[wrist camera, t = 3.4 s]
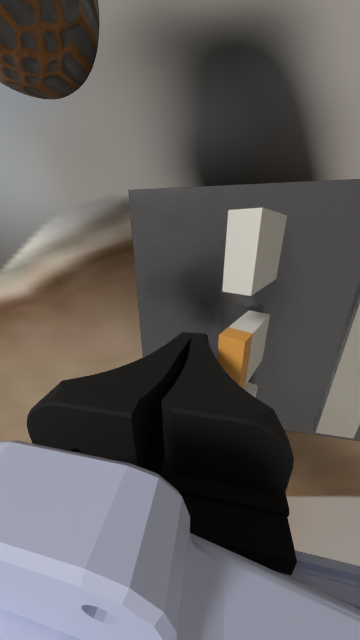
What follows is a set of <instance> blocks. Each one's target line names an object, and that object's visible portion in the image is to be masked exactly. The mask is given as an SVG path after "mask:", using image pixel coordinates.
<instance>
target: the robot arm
mask: <svg viewBox="0 0 360 640" xmlns="http://www.w3.org/2000/svg"><path fill="white" fill-rule="evenodd" d="M27 428H28V432H29V435H30V438H31V440H32V443H33V444H32V443H27V442H22V441H0V640H360V566H356V565H352V564H348V563H344V562H340V561H335V560H332V559H328V558H324V557H320V556H316V555H311V554H307V553H303V552H299V551H295V550H294V545H293V541H292V536H291V532H290V528H289V523H288V519H287V517H288V516H289V507H288V502H287V498H286V494H285V492H286V489H287V486H288V482H289V479H290V476H291V473H292V469H293V460H294V457H293V454H292V450H291V447H290V443H289V441H288V438H287V436H286V433H285V431H284V429H283V427H282V425H281V423H280V421H279V419H278V417H277V415H276V413H275V411H274V409H273V408H271V407H269V406H268V405H266V404H265V403H263V402H262V401H260V400H258V399H257V398H255V397H254V396H252V395H251V394H250V393H248V392H247V391H246V390H244V389H243V388H242V387H241V386H239V385H238V384H237V383H236V382H235V381H234V380H233V379H232V378H231V377H230V376H229V375H228V374H227V373H226V371H225V370H224V369H223V368H222V366H221V365H220V363H219V362H218V360H217V359H216V357H215V355H214V353H213V351H212V349H211V347H210V345H209V342H208V336H207V335H206V334H203V333H190V332H182V333H181V334H179V335H178V336H177V337H175V338H174V339H173V340H171V341H170V342H168V343H167V344H166V345H164V346H162V347H161V348H159V349H158V350H156V351H154V352H153V353H151V354H149V355H147V356H145V357H143V358H141V359H139V360H137V361H135V362H132V363H130V364H127V365H124V366H122V367H119V368H116V369H113V370H109V371H106V372H102V373H99V374H95V375H90V376H85V377H80V378H75V379H70V380H63V381H61V382H60V383H59V384H58V385H57V386H56V387H55V388H54V389H53V390H51V391H50V392H49V393H48V394H47V395H46V396H45V397H44V398H43V399H42V400H40V401H39V402H38V403H37V404H36V405H35V406H34V407H33V408H32V409H31V410H30V412H29V414H28V417H27Z"/></svg>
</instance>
